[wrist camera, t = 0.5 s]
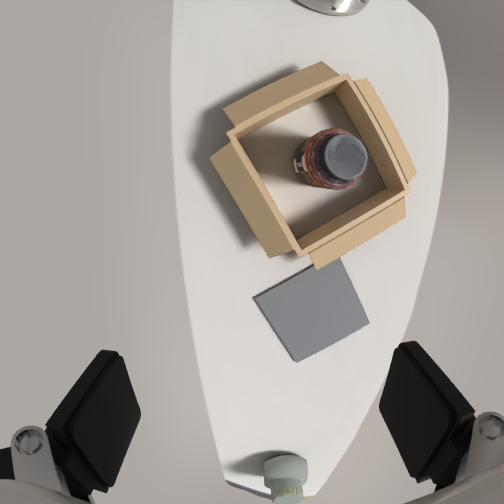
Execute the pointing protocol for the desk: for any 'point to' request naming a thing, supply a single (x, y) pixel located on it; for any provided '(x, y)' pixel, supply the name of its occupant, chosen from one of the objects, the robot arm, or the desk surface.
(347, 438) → the desk surface
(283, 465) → the air freshener
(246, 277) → the desk surface
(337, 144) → the supplement bottle
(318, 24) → the desk surface
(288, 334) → the mat
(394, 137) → the carton
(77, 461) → the robot arm
